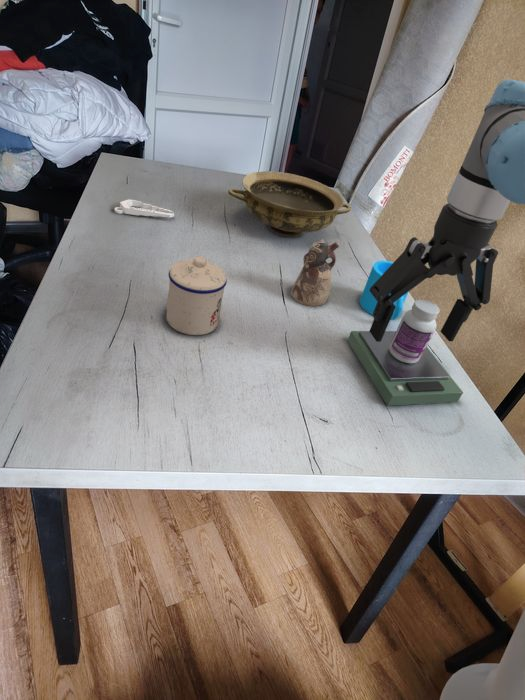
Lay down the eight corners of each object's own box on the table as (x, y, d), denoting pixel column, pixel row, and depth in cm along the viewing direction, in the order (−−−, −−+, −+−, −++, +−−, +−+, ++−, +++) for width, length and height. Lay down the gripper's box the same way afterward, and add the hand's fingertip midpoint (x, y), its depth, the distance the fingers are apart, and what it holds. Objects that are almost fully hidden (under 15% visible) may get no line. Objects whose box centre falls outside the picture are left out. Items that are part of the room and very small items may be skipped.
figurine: (291, 283, 96) (306, 228, 89) (325, 290, 97) (343, 236, 90) (290, 302, 91) (306, 245, 83) (327, 309, 91) (346, 253, 84)
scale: (457, 402, 77) (464, 390, 75) (387, 406, 73) (393, 393, 71) (409, 340, 88) (415, 328, 87) (347, 340, 84) (352, 328, 83)
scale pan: (448, 379, 77) (449, 376, 77) (389, 381, 74) (390, 378, 73) (412, 334, 86) (413, 331, 86) (358, 334, 83) (359, 331, 82)
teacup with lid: (221, 339, 77) (232, 277, 70) (164, 335, 75) (169, 270, 68) (216, 298, 87) (225, 239, 80) (165, 294, 85) (170, 233, 78)
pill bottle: (423, 366, 78) (449, 318, 72) (392, 362, 77) (415, 313, 71) (414, 346, 82) (438, 299, 76) (385, 341, 81) (406, 294, 75)
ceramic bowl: (330, 216, 129) (341, 180, 123) (355, 259, 111) (369, 219, 105) (220, 201, 123) (226, 161, 117) (226, 244, 104) (234, 200, 98)
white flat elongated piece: (174, 213, 112) (175, 206, 111) (173, 222, 108) (173, 214, 107) (117, 203, 109) (117, 196, 108) (113, 212, 106) (113, 205, 105)
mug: (355, 293, 98) (368, 258, 93) (391, 298, 100) (406, 263, 95) (370, 328, 89) (385, 291, 84) (410, 332, 91) (428, 296, 86)
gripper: (525, 208, 71) (461, 323, 84) (379, 191, 63) (333, 321, 76) (560, 230, 66) (487, 350, 78) (406, 216, 58) (352, 351, 70)
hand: (411, 336), depth 77 cm, fingers open, 13 cm apart
